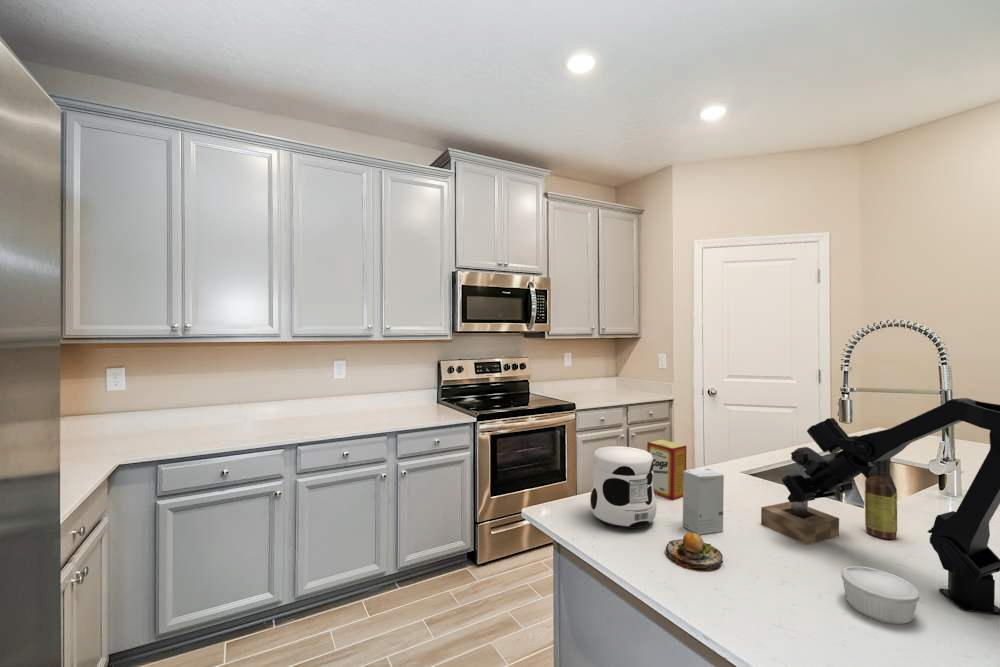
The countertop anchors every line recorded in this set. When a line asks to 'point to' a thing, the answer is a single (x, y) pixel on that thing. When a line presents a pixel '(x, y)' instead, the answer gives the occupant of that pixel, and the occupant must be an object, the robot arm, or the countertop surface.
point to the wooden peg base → (800, 523)
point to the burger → (694, 553)
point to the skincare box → (703, 501)
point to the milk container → (623, 487)
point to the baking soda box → (668, 468)
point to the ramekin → (880, 594)
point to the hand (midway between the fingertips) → (794, 499)
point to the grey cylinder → (800, 507)
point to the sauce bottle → (881, 502)
